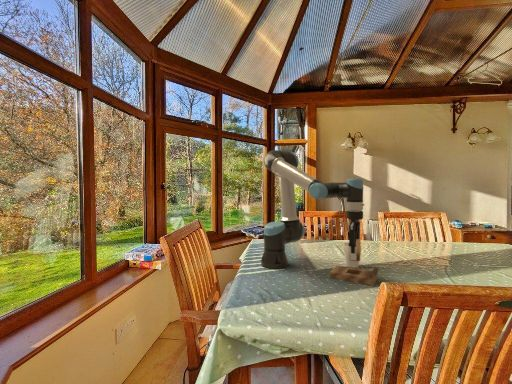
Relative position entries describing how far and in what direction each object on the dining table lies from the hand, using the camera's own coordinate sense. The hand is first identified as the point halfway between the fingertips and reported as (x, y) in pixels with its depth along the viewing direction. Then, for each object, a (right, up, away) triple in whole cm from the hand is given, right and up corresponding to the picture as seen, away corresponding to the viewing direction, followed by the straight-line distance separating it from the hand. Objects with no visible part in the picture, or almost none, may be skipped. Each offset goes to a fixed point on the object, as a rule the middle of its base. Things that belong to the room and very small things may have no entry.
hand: (354, 258), depth 139 cm
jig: (0, -10, +1) cm, 10 cm away
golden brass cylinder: (0, -1, 0) cm, 1 cm away
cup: (+5, -9, +20) cm, 22 cm away
